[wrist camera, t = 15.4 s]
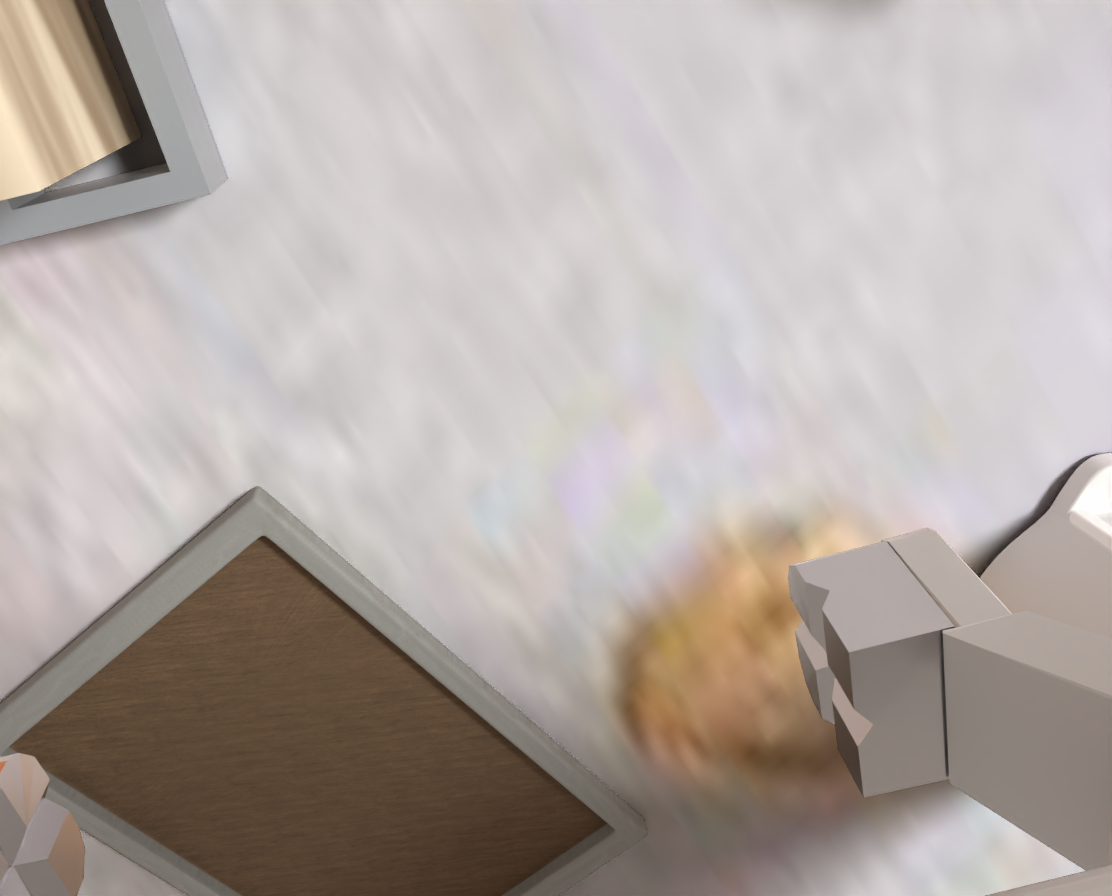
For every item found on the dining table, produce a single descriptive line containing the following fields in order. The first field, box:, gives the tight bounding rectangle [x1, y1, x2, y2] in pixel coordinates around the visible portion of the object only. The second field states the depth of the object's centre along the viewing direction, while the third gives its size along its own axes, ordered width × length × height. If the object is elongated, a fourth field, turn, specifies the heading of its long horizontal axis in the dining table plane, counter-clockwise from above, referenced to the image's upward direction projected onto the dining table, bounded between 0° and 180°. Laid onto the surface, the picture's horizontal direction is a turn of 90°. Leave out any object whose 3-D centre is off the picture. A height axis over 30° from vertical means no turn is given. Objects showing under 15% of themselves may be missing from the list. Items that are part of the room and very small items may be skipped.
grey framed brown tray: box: [0, 486, 647, 896], centre depth 49 cm, size 19×2×30 cm
